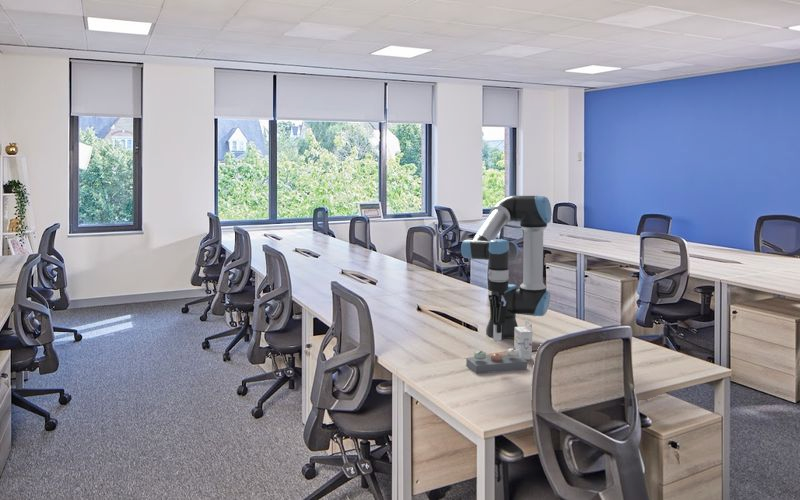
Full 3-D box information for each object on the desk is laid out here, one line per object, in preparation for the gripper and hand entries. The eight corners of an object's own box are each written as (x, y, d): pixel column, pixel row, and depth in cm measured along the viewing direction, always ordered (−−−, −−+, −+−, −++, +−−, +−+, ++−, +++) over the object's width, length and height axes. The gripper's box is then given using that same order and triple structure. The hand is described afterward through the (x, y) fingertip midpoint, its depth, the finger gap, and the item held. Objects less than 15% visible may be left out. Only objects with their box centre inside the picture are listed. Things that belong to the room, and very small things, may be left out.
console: (515, 361, 253) (515, 354, 253) (527, 368, 244) (527, 361, 243) (466, 365, 248) (466, 358, 247) (476, 373, 238) (476, 365, 238)
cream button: (515, 353, 250) (516, 347, 249) (520, 356, 245) (521, 350, 245) (505, 353, 248) (505, 348, 248) (510, 357, 244) (510, 351, 244)
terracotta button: (499, 357, 248) (499, 352, 248) (504, 360, 244) (504, 355, 243) (489, 358, 247) (489, 352, 247) (493, 361, 243) (493, 356, 242)
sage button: (482, 355, 246) (483, 350, 246) (487, 359, 242) (487, 353, 242) (472, 356, 245) (472, 351, 245) (476, 359, 241) (476, 354, 240)
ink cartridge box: (513, 354, 263) (514, 319, 261) (524, 353, 264) (525, 319, 262) (520, 360, 255) (521, 324, 253) (532, 359, 256) (533, 324, 254)
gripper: (482, 277, 247) (481, 336, 250) (496, 283, 234) (495, 345, 238) (500, 276, 249) (499, 335, 252) (514, 282, 236) (513, 344, 239)
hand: (497, 340), depth 245 cm, fingers closed
